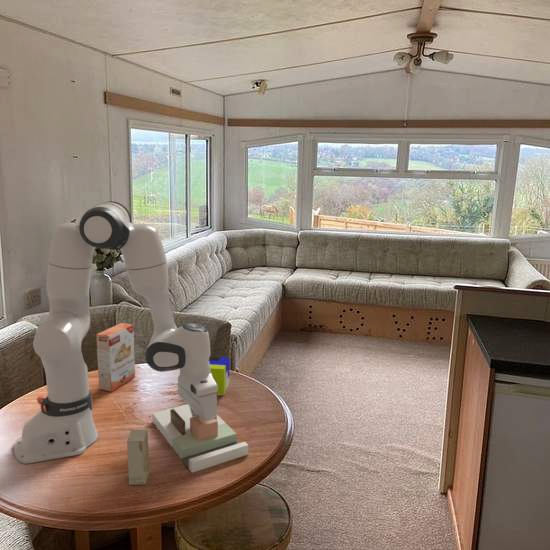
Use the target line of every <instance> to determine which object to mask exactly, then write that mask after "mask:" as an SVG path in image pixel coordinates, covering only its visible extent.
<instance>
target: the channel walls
mask: <svg viewBox="0 0 550 550" xmlns="http://www.w3.org/2000/svg"><path fill="white" fill-rule="evenodd" d="M170 414H171V423H172V424H173V425H174V426H175V427H176V429H177V430H178V431H179V432H180V433H181V435H185V421H184V420H183V419H182V418H181V417H180V416H179V415H178V413H177V412H176V411H175V410H174V409H171V410H170ZM217 415H218V414H217ZM217 415H216V417H215V419H216V420H217Z"/></svg>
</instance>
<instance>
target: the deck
mask: <svg viewBox="0 0 550 550" xmlns="http://www.w3.org/2000/svg"><path fill="white" fill-rule="evenodd" d="M171 409H174V410H175V411H176V412H177V413H178V415H179V416H180V417H181V418H182V419H183V420H184V421H185V435H181V433H180V432H179V431H178V430H177V429H176V427H175V426H174V425H173V424H172V423H171V414H170V410H171ZM151 414H152V415H151V416H152V417H151V418H152V424H154V426H155V425H156V426H155V427H156V428H157V429H158V431H159V430H160V431H159V432H160V434H161V435H162V436H163V437H164V439H165V440H166V441H167V443H169V445H170V446H171V448H172V447H173V448H172V449H173V451H175V452H176V454H177V455H178V457H179V458H180V459H181V461H182V462H183V463H184V464H185V466H186V467H187V468H188V470H189V471H190V472H191V473H192V474H193V473H196V472H199V471H202V470H205V469H208V468H209V469H210V468H211V467H214V466H218V465H221V464H224V463H227V462H230V461H232V460H236V459H238V458H242V457H245V456H247V455H249V444H248V443H247V442H246V441H242V442H238V440H237V439H238V437H237V435H238V433H236V432H235V430H233V428H232V427H230V426H229V425H228V424H227V423H226V422H225V421H224V420H223V419H222V418H221V417H220V416H219V415H218V414H217V421H218V436H215V437H212V438H208V439H205V440H202V441H198V440H197V439H196V438H195V437H194V436H193V434H192V433H191V432H190V418H191V417H192V414H191V411H190V406H189V405H188V404H187V403H186V404H183V405H180V406H174V407H171V408H168V409H163V410H159V411H155V412H152V413H151Z"/></svg>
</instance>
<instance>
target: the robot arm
mask: <svg viewBox="0 0 550 550" xmlns="http://www.w3.org/2000/svg"><path fill="white" fill-rule="evenodd" d="M97 248H98V249H102V250H103V249H104V250H110V251H111V250H112V251H121V253H122V256H123V260H124V265H125V269H126V273H127V278H128V280H129V281H128V282H129V284H130V286H131V289H132V291H133V292H135V293H136V294H137V295H139V296H141V297H143V298H145V300H146V301H147V304H148V306H149V311H150V314H151V315H150V316H151V319H152V323H153V331H152V335H151V339H150V341H149V343H148V345H147V347H146V350H145V353H144V355H145V357H144V358H145V361H146V364H147V365H148V366H149V367H150V368H151V369H152V370H154V371H156V372H162V373H163V372H170V371H175V370H179V375H178V378H177V393H178V396H179V398H180V399H182V400H183V401H184V402H185V403H186V404H188V405H189V406H190V411H191V414H192V417H195V416H200V417H201V418H202V419H203V420H204V421H209V420H212V419H215V417H216V415H218V414H217V412H218V398H217V397H218V395H216V393H215V392H217V391H218V386H217V384H216V382H215V381H214V379H213V376H212V373H211V367H210V363H209V357H211V341H210V335H209V331H208V329H207V327H205V326H203V324H202V325H201V324H200V323H195V322H186V323H183V324H182V325H181V326H179V325H178V323H177V322H176V319H175V316H174V312H173V307H172V303H171V298H170V291H169V290H170V289H169V281H170V279H169V267H168V261H167V256H166V252H165V249H164V246H163V242H162V240H161V237H160V234H159V232H158V230H157V228H155V226H152V225H150V224H145V223H139V224H138V223H137V224H134V223H132V215H131V214H130V212H129V210H128V208H127V207H126V206H124V205H123V204H121V203H120V202H117V201H112V200H111V201H105V202H104V201H103V202H101V203H98V204H96V205H94V206H92V207H91V208H90V209H87V211H85V212H84V214H82V216H81V218H80V220H79V222H65V223H62V224H60V225H58V226H57V227H56V229H55V231H54V233H53V237H52V240H51V243H50V248H49V254H48V255H49V256H48V263H47V271H46V272H47V274H46V285H45V290H46V291H45V292H46V293H47V296H48V303H49V310H48V311H49V312H48V315H47V317H46V319H45V320H44V321H43V322H42V323H41V324H40V325H39V326H38V328H37V330H36V331H35V334H34V337H33V342H32V346H33V349H34V351H35V354H36V355H37V356H38V357H39V358H40V359H41V360H40V361H41V362H42V366H43V368H44V372H45V379H46V380H45V381H46V390H47V396H46V397H45V396H44V395H39V396H38V397H36V400H37V404H38V405H40V411H39V412H38V413H36V414H35V415H34V416H33V417H32V418H31V419H29V420H27V422H25V424H24V425H23V428H22V432H21V437H18V438H17V439H16V441H15V442H14V445H13V455H14V457H15V459H16V460H17V461H18V462H19V463H22V464H33V463H38V462H43V461H49V460H56V459H60V458H66V457H72V456H73V457H74V456H78V455H81V454H83V453H84V452H85V451H86V450H87V448H88V447H89V446H91V445H93V444H94V443H96V441H97V439H98V438H99V432H98V429H97V428H96V424H95V420H94V418H93V412H92V409H93V398H92V392H91V391H90V383H89V382H90V381H89V368H88V366H87V364H86V362H85V360H84V357H83V356H84V355H83V353H82V342H83V339H84V338H85V337H86V335H87V334H88V332H89V329H90V325H91V315H90V313H91V309H90V308H91V307H90V305H91V304H90V287H91V278H92V269H93V268H92V267H93V259H94V253H95V250H96V249H97Z"/></svg>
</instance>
